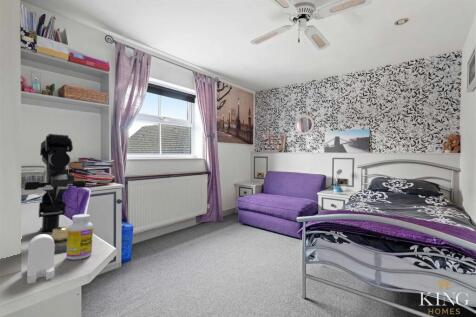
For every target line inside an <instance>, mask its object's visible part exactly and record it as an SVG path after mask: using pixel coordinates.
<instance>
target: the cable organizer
mask: <svg viewBox="0 0 476 317" xmlns="http://www.w3.org/2000/svg"><path fill="white" fill-rule="evenodd" d="M54 250H55V244H54V240H53V238H52V237H51V235H50V234H46V233H43V234H42V233H41V234H38V235H35V236H34V237H32V238H31V239H30V241H29V243H28V248H27V264H26V269H27V270H26V273H27V274H26V284H28V285H29V284H33V283H34V284H35V283H37V279H39V278H41V277H45V280H46V281H47V280H51V279H54V278H55V253H54Z"/></svg>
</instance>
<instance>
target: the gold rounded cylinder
mask: <svg viewBox="0 0 476 317" xmlns="http://www.w3.org/2000/svg"><path fill="white" fill-rule="evenodd" d="M59 227H60V228H55V229H53V231H52V236H53V237H52V238H53V240H54V244H55V243H61V242H67V238H68V227H69V226H68V227H67V226H63V227H61V226H59Z"/></svg>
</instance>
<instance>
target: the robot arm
mask: <svg viewBox="0 0 476 317" xmlns="http://www.w3.org/2000/svg"><path fill="white" fill-rule="evenodd" d="M73 146H74V145H73V141H72V139H71V137H69V135H67V134H57V133H48V134H47V135H46V136H45V139H44V140H43V141H42V142H41V143H40V151H39V155H40V156H41V161H42V162H43V163H44V164H45V166H46V167H45V182H40V181H39V180H25V181H24V182H23V184H22V185H23V186H22V188H23V190H24V191H32V190H33V191H34V190H38V189H39V188H43V189H42V191H43V192H45V193H44V194H43V195H42V197H41V202H39V205H38V218H42V221H41V227H39V230H40V232H41V233H47V232H53V229H55V228H60V227H61V226H60V216H64V215H66V207H67V203H66V202H65V200H64V199H63V197H64V196H63V195H64V193H65V192H66V191H69V187H75V188H77V189H79V188H80V189H81V188H86V184H87V183H86V181H85V180H83V179H75V174H74V173H67V166H68V165H69V164H70V163H71V158H70V155H69V154H68V153H71V152H72V151H73V148H74V147H73Z"/></svg>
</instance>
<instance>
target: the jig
mask: <svg viewBox="0 0 476 317" xmlns="http://www.w3.org/2000/svg"><path fill="white" fill-rule="evenodd" d="M50 236H51V235H50ZM51 237H53V235H52V236H51ZM62 252H67V242H61V243H55V250H54V254H58V253H62Z"/></svg>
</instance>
